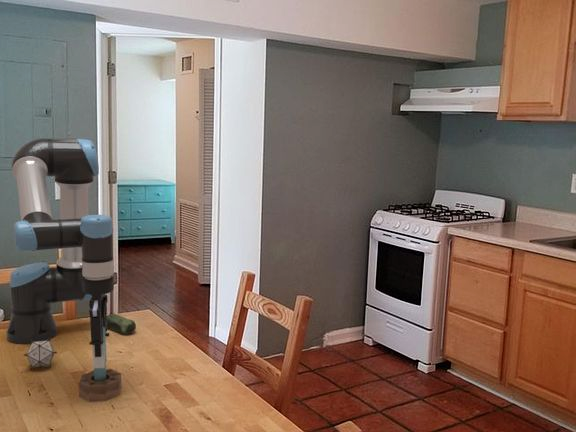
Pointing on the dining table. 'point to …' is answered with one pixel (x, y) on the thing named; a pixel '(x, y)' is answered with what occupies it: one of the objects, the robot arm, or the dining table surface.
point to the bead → (100, 386)
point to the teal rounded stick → (101, 372)
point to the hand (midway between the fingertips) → (100, 364)
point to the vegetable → (120, 324)
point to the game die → (40, 353)
